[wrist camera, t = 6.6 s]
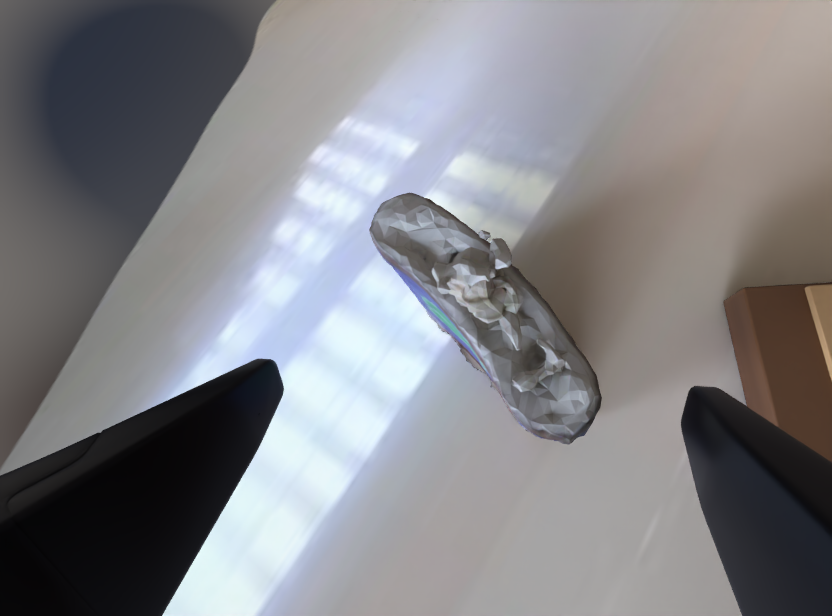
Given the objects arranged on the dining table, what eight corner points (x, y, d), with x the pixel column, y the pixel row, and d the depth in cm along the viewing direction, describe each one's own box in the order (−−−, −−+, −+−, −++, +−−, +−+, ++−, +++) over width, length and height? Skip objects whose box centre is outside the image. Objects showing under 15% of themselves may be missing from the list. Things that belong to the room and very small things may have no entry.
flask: (417, 303, 21) (328, 189, 11) (460, 268, 21) (408, 123, 11) (539, 451, 18) (562, 472, 8) (590, 410, 18) (678, 378, 8)
